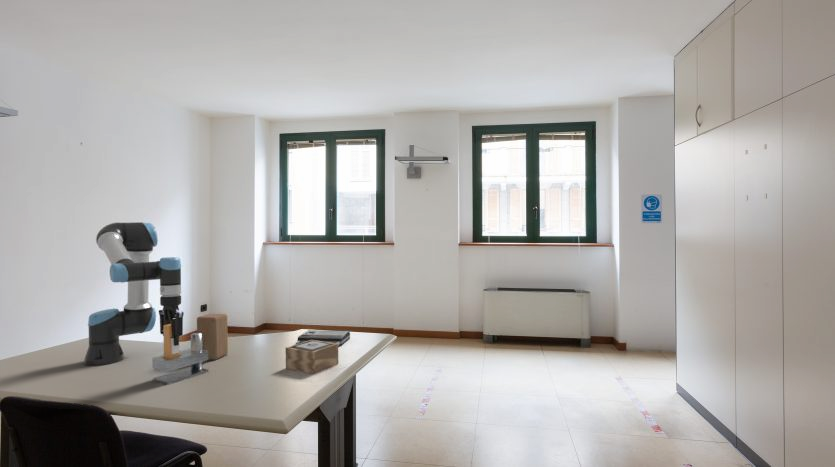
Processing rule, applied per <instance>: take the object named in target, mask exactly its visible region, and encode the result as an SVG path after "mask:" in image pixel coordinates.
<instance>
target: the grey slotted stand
mask: <svg viewBox="0 0 835 467" xmlns="http://www.w3.org/2000/svg"><path fill="white" fill-rule="evenodd" d="M205 361H209V360H208V350H203V349H202V333H197V332H193V333H191V334H190V348H186V349H183V350H179V357H176V358H172V359H166V358H164V354H163V355H159V356H156V357H152V362H151V363H152V367H151V368H152V369H156V370H159V371H163V372H166V373H167V372H170V371H174V370H177V371H174V372H170V373H167V374H163V375H159V376H156V377H152V381H154V382H157V383H161V384H165V385H170V384H173V383H177V382H179V381H183V380H185V379H189V378H193V377H195V376H198V375H201V374H206V373H207V372H208V373H209V369H207V368H203V362H205ZM188 366H190V367H188ZM185 367H187V368H185ZM180 368H181V370H180ZM182 368H183V369H182ZM178 369H179V370H178Z"/></svg>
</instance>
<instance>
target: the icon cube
mask: <svg viewBox="0 0 835 467" xmlns="http://www.w3.org/2000/svg"><path fill="white" fill-rule="evenodd" d="M328 346H329V344H326V343H320V342H315V341H311V342H308V343H305V344H301V345H298V346H296V349H301V350H307V351H316V350H319V349H322V348H325V347H328Z"/></svg>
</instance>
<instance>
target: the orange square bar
mask: <svg viewBox="0 0 835 467" xmlns="http://www.w3.org/2000/svg"><path fill="white" fill-rule="evenodd" d="M163 332H164V336H163V355H164V358H166V359H172V358H176V357H179V353H176V354H171V337H172V329H171V324H167V325H163Z"/></svg>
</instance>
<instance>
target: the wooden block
mask: <svg viewBox="0 0 835 467" xmlns="http://www.w3.org/2000/svg"><path fill="white" fill-rule="evenodd" d="M196 333H202V349H203V350H208V360H207V361H216V360H219V359H220V358H224V357H225V356H227V355H228V353H229V352H228V351H229V350H228V347H229V346H228V344H229V343H228V340H229V339H228V336H229V334H228V314H226V313H207V314H204V315H200V316H198V317H197V318H196Z"/></svg>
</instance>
